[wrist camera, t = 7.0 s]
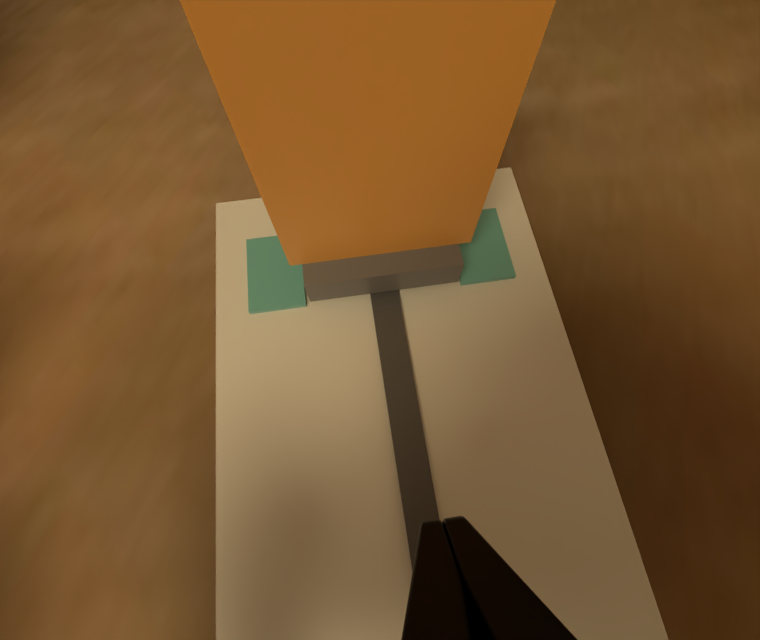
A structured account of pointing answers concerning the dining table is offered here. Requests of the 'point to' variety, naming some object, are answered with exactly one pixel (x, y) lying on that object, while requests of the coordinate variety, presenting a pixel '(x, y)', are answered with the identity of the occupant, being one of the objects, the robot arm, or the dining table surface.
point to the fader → (371, 124)
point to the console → (406, 441)
